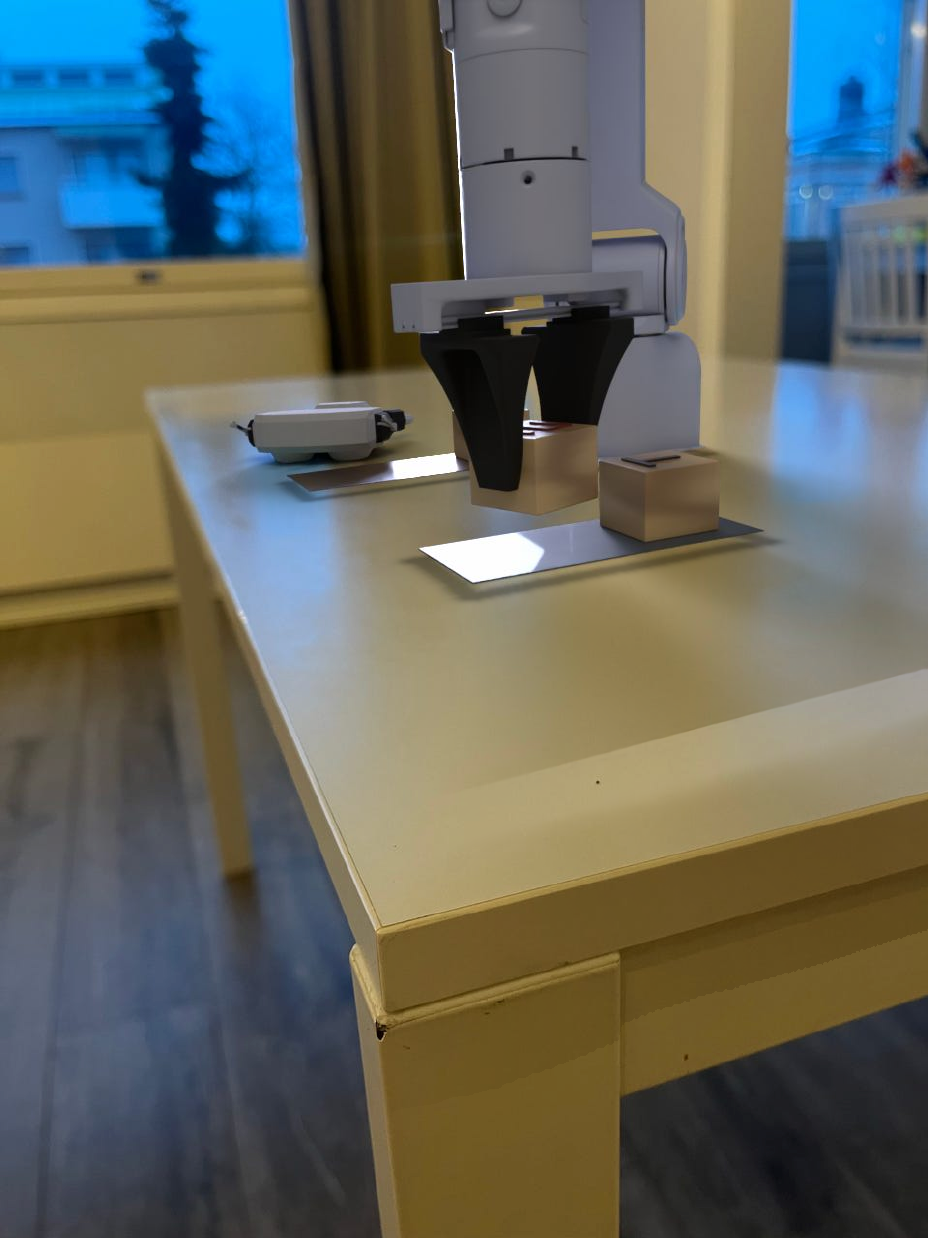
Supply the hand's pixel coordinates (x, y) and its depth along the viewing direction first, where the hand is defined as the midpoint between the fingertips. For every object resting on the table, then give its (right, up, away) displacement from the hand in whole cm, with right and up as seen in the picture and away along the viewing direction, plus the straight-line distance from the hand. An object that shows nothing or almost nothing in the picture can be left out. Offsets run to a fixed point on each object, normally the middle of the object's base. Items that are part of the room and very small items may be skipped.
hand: (534, 479), depth 46 cm
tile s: (0, -1, 0) cm, 1 cm away
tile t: (+7, -2, +4) cm, 8 cm away
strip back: (-7, +4, +24) cm, 25 cm away
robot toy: (-14, +7, +34) cm, 37 cm away
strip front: (+3, -3, +2) cm, 5 cm away
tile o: (-1, +6, +26) cm, 27 cm away
